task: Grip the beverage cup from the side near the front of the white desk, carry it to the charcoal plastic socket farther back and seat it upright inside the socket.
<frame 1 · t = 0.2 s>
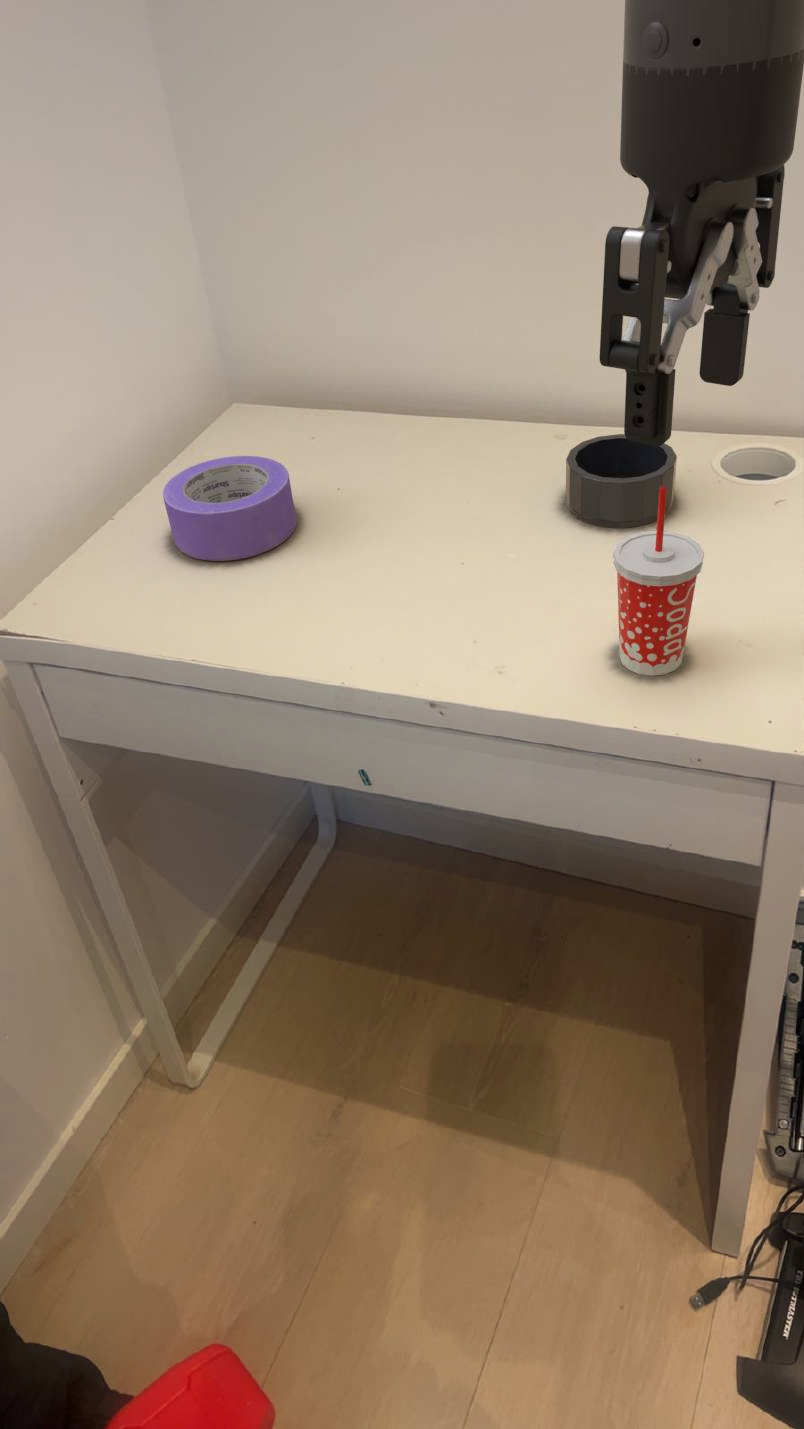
hand: (685, 410, 54), 24 cm above the table, tool pointing down, fingers open, 8 cm apart
socket: (619, 502, 96), on the table
tape roll: (236, 532, 99), on the table
beverage cup: (650, 659, 78), on the table
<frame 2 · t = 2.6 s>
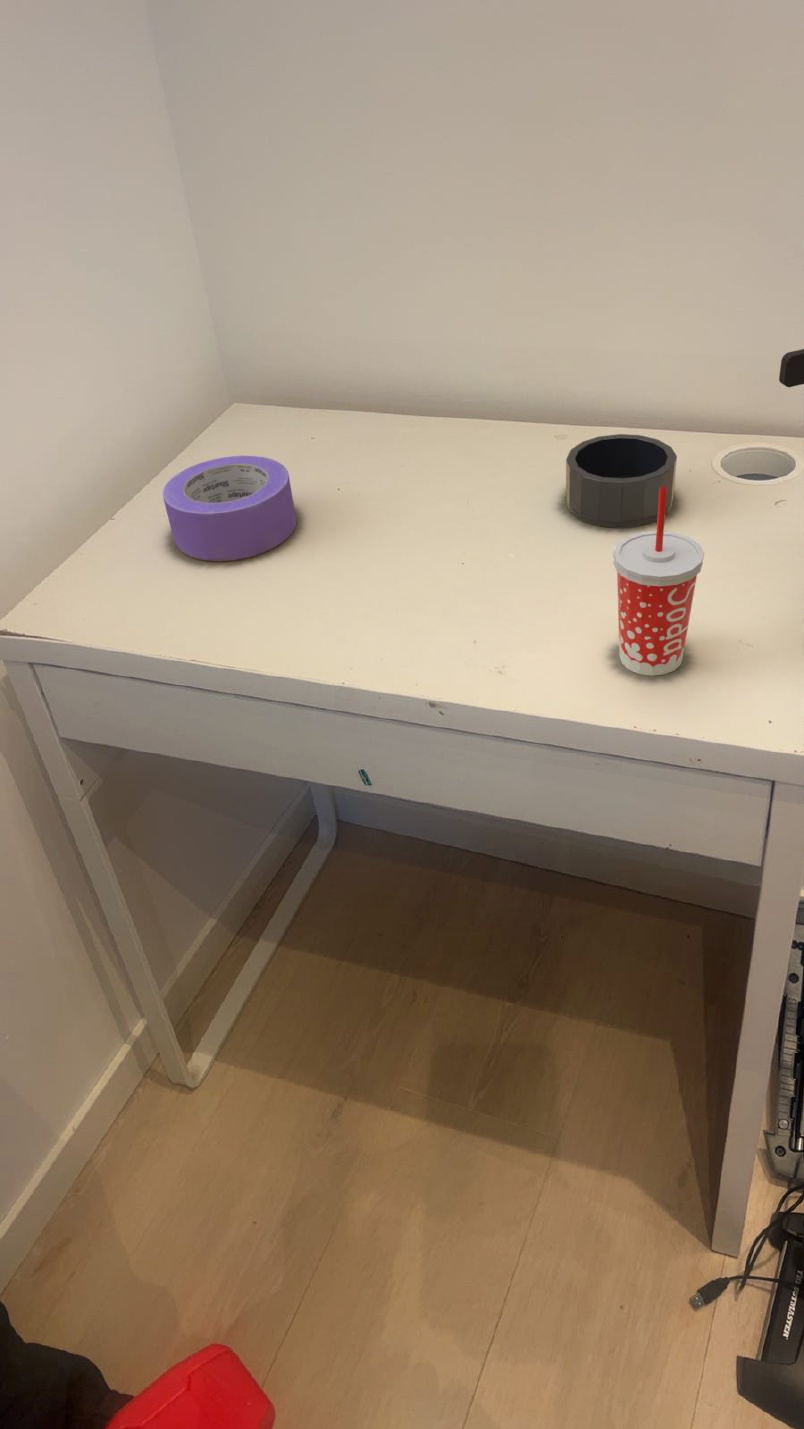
nothing on the table moved.
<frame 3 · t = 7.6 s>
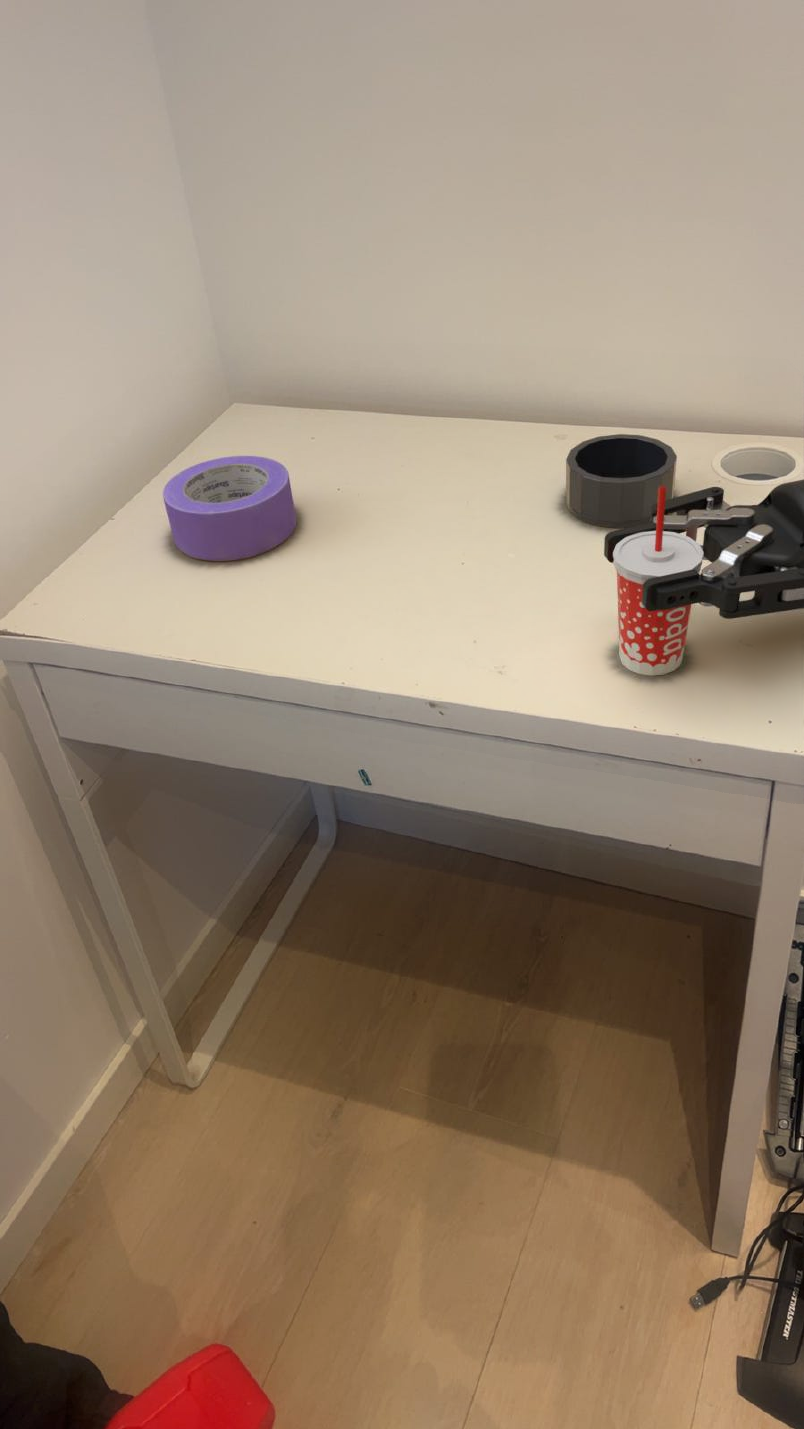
hand: (625, 571, 72), 8 cm above the table, tool horizontal, fingers closed on beverage cup, 6 cm apart
beverage cup: (650, 659, 78), on the table, touching gripper
everything else where it was.
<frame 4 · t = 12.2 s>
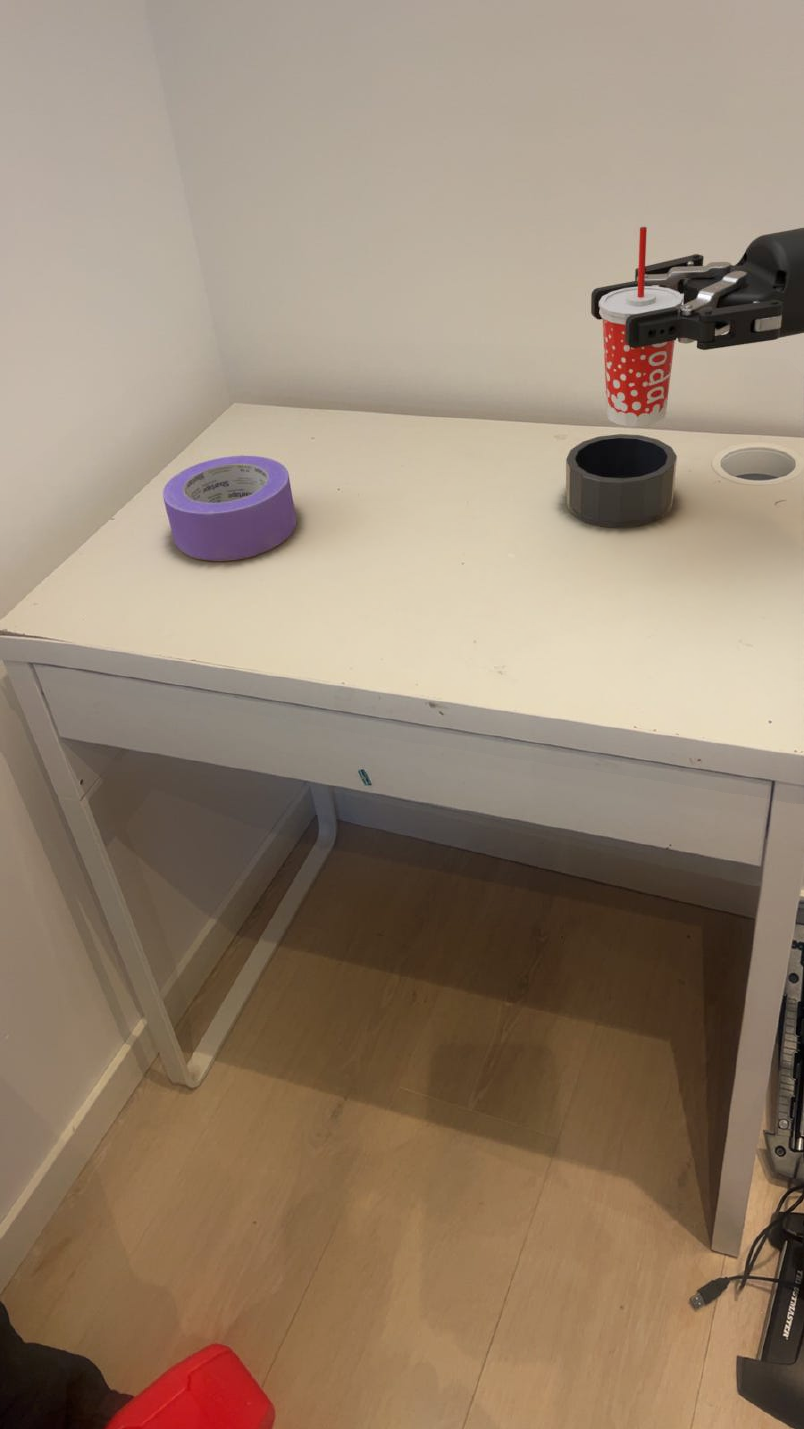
hand: (610, 318, 78), 20 cm above the table, tool horizontal, fingers closed on beverage cup, 6 cm apart
beverage cup: (636, 416, 83), point 12 cm above the table, touching gripper
everything else where it was.
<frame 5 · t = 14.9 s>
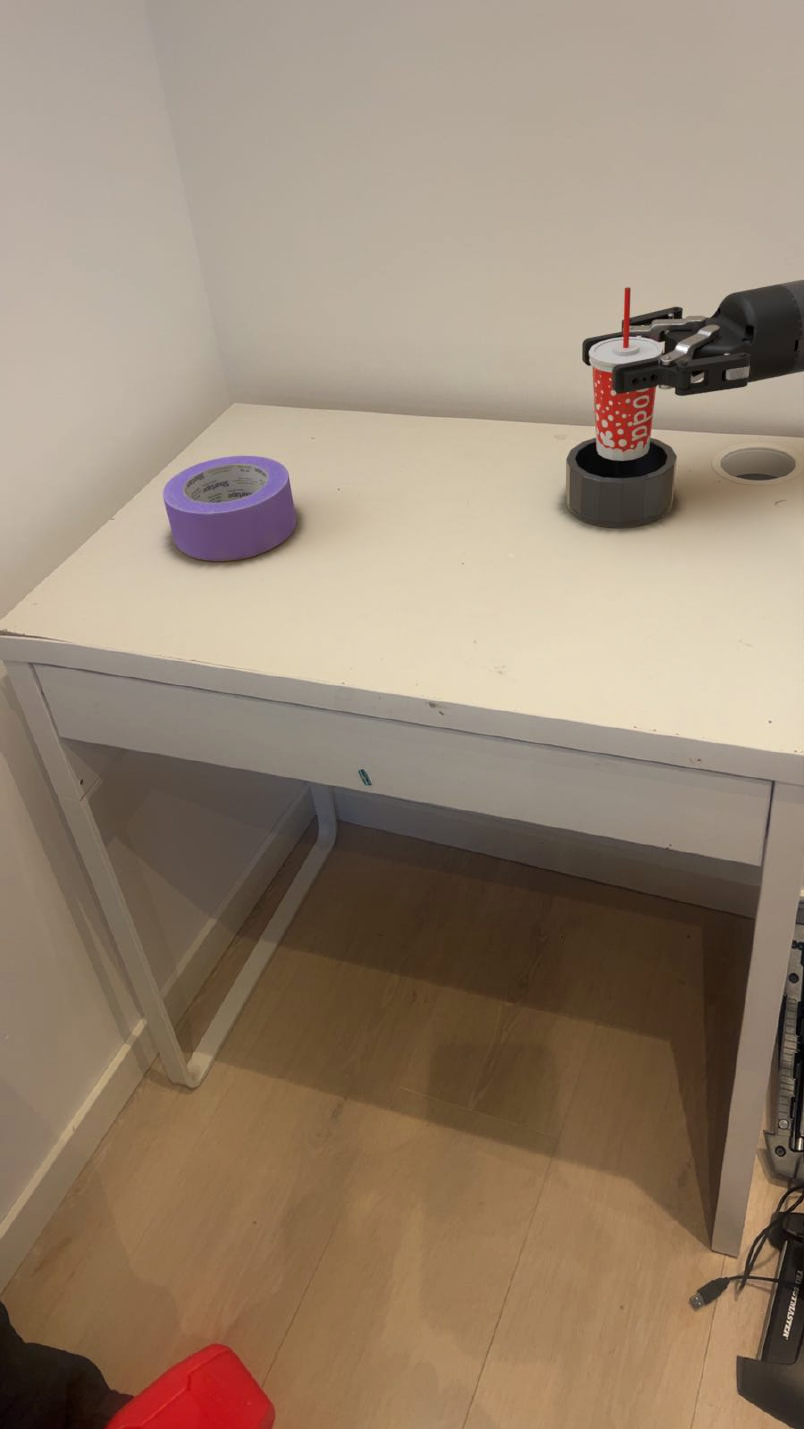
hand: (599, 366, 88), 13 cm above the table, tool horizontal, fingers closed on beverage cup, 6 cm apart
beverage cup: (622, 451, 93), point 5 cm above the table, touching gripper
everything else where it was.
when the fingers open (9 cm above the table, at t = 16.8 s): beverage cup stays where it is, resting on socket.
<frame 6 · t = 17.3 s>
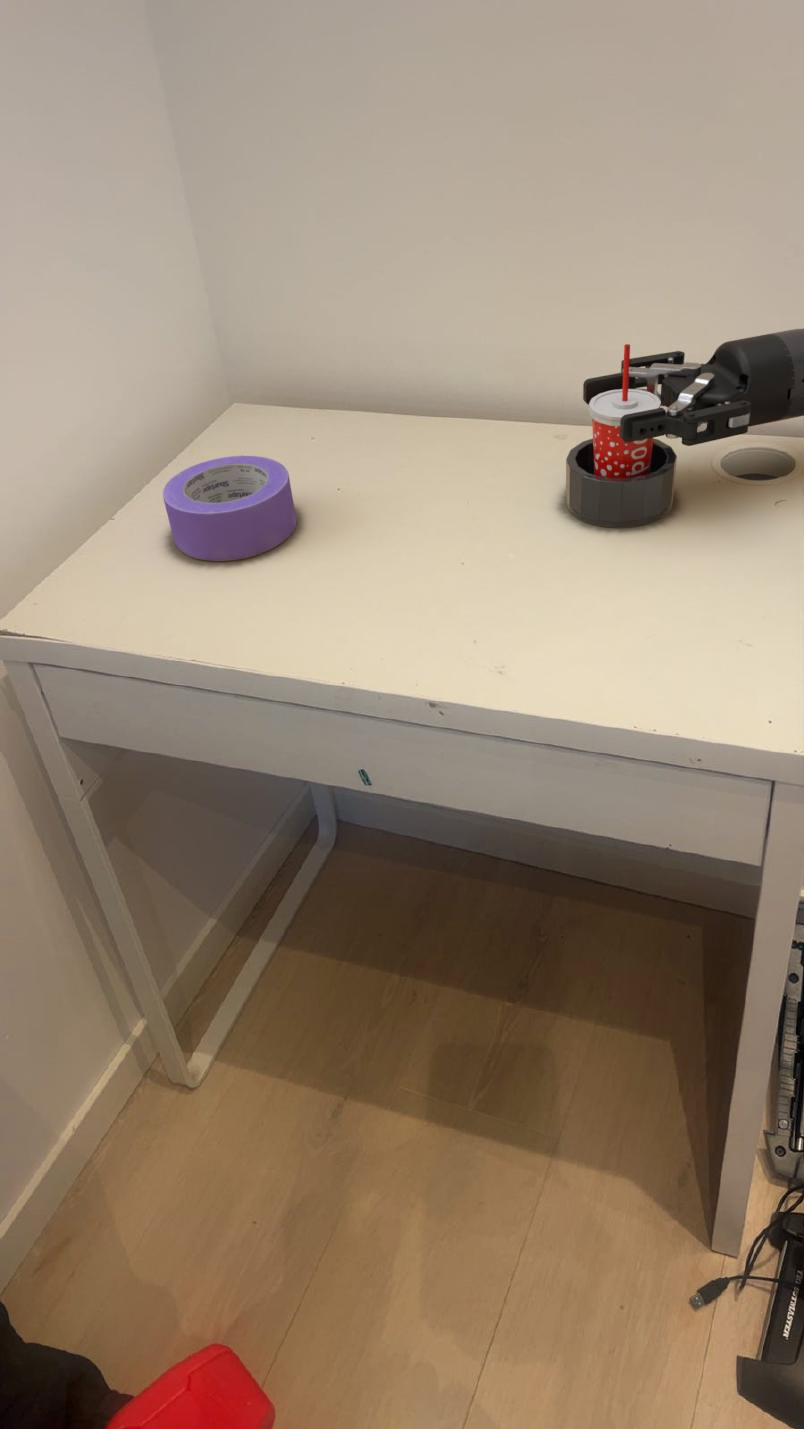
hand: (602, 410, 90), 9 cm above the table, tool horizontal, fingers open, 8 cm apart
beverage cup: (620, 498, 96), resting on socket
everything else where it was.
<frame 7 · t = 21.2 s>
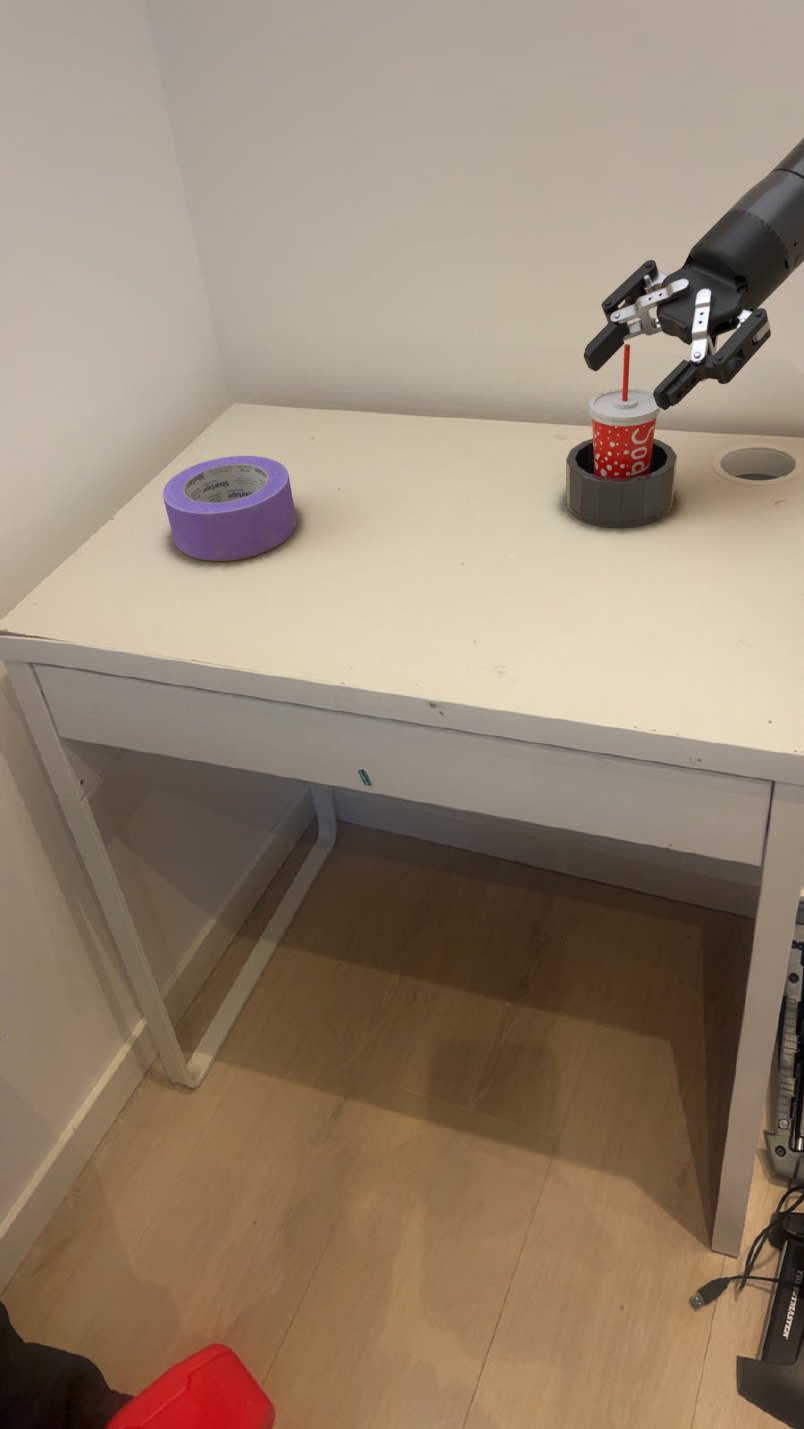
hand: (622, 382, 88), 12 cm above the table, tool tilted 60°, fingers open, 8 cm apart
nothing on the table moved.
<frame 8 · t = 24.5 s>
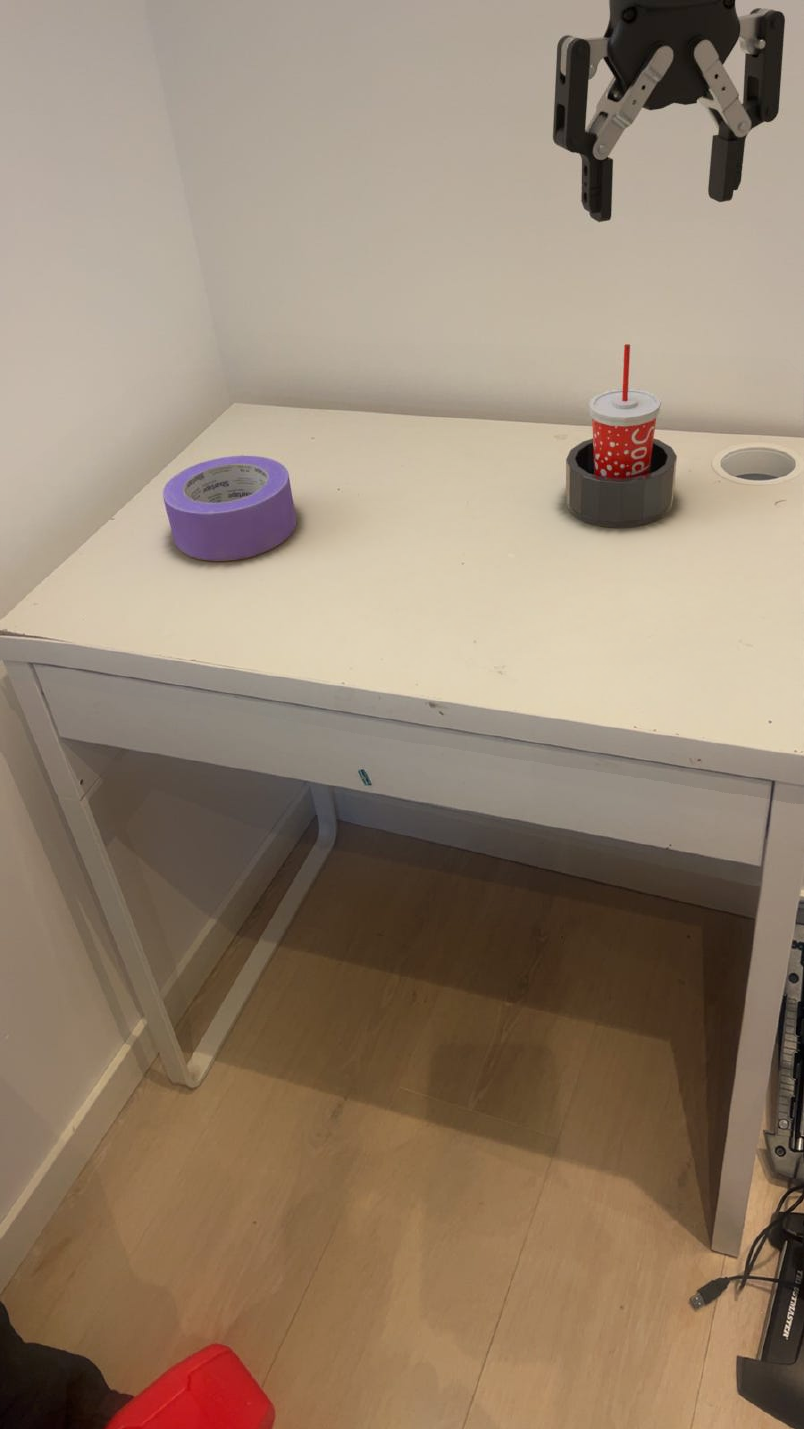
hand: (660, 209, 69), 28 cm above the table, tool pointing down, fingers open, 8 cm apart
nothing on the table moved.
at the end: beverage cup 0.1 cm off-centre in the socket, point 0.4 cm above the socket's base; beverage cup tilted 0°; the gripper is holding nothing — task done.
